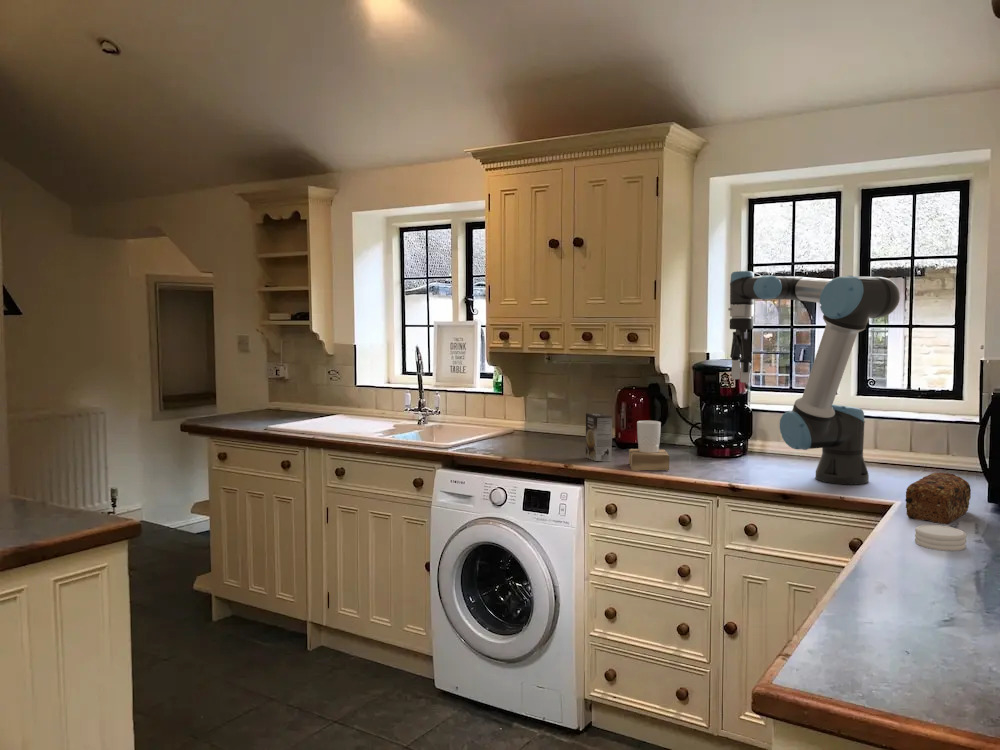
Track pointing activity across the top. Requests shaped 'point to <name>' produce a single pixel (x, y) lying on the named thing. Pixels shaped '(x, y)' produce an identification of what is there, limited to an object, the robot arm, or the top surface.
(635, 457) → the oak block
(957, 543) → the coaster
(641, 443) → the white cup
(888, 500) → the top surface
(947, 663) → the top surface
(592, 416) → the coffee box
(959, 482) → the bread
